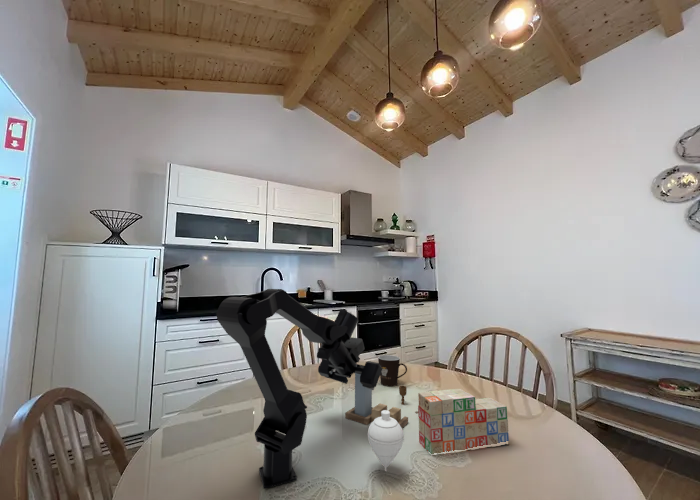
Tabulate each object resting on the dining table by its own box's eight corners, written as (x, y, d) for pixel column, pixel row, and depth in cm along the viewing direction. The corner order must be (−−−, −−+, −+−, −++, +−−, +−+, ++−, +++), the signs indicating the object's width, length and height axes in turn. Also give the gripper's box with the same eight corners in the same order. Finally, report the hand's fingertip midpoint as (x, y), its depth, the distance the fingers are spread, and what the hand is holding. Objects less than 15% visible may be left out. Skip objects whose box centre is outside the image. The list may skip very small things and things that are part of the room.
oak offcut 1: (378, 426, 83) (378, 411, 83) (371, 423, 84) (371, 409, 85) (387, 419, 87) (387, 405, 88) (379, 417, 88) (379, 403, 89)
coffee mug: (374, 381, 120) (374, 356, 121) (392, 379, 124) (392, 354, 125) (389, 391, 110) (389, 363, 111) (409, 388, 113) (408, 361, 114)
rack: (395, 434, 79) (395, 428, 79) (345, 418, 88) (345, 412, 88) (408, 422, 85) (408, 417, 85) (359, 408, 94) (359, 403, 94)
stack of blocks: (492, 433, 80) (490, 385, 81) (509, 446, 74) (507, 394, 75) (418, 442, 75) (417, 391, 76) (430, 457, 69) (429, 400, 70)
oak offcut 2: (393, 430, 81) (393, 415, 81) (385, 428, 82) (385, 412, 82) (401, 423, 85) (400, 408, 85) (393, 421, 86) (393, 406, 86)
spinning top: (400, 460, 67) (399, 404, 68) (407, 483, 59) (407, 419, 61) (365, 460, 67) (366, 404, 68) (369, 483, 59) (369, 419, 60)
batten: (364, 420, 86) (365, 375, 88) (354, 417, 88) (355, 373, 90) (371, 415, 89) (371, 372, 91) (361, 412, 91) (362, 370, 93)
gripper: (378, 333, 80) (396, 366, 88) (324, 326, 91) (345, 356, 99) (363, 370, 73) (384, 402, 81) (306, 359, 83) (330, 388, 91)
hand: (359, 385), depth 88 cm, fingers open, 9 cm apart
